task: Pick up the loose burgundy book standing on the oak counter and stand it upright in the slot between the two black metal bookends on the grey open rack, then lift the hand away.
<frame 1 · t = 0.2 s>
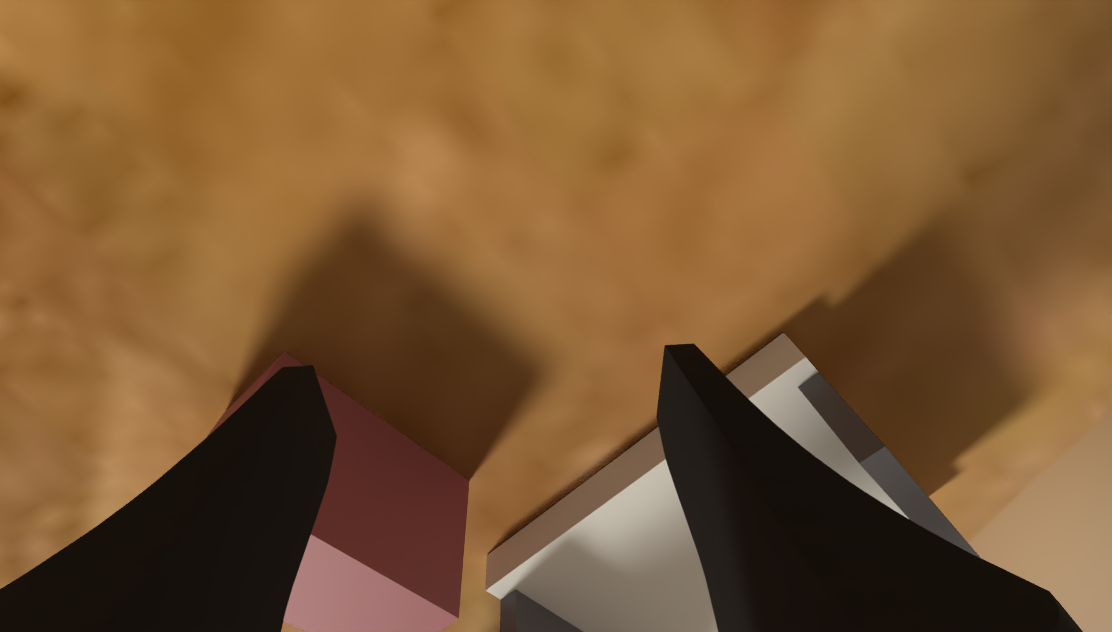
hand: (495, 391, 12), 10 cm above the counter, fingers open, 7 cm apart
burgundy book: (354, 446, 25), on the counter
grey open rack: (709, 527, 29), on the counter
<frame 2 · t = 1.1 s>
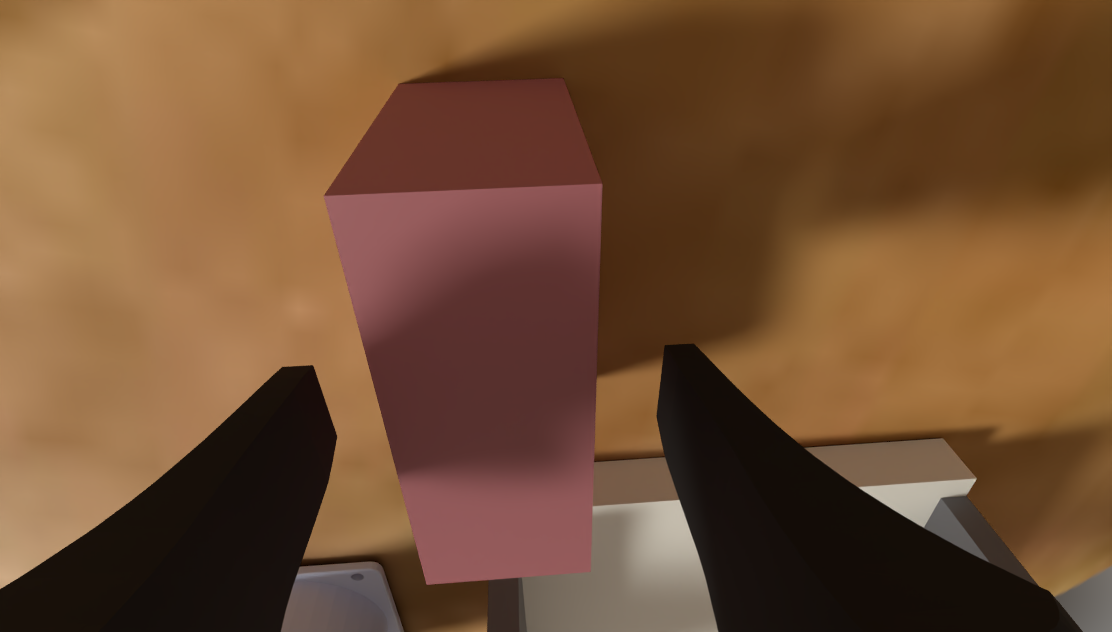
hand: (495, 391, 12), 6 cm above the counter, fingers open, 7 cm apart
burgundy book: (497, 259, 17), on the counter
grey open rack: (698, 557, 26), on the counter
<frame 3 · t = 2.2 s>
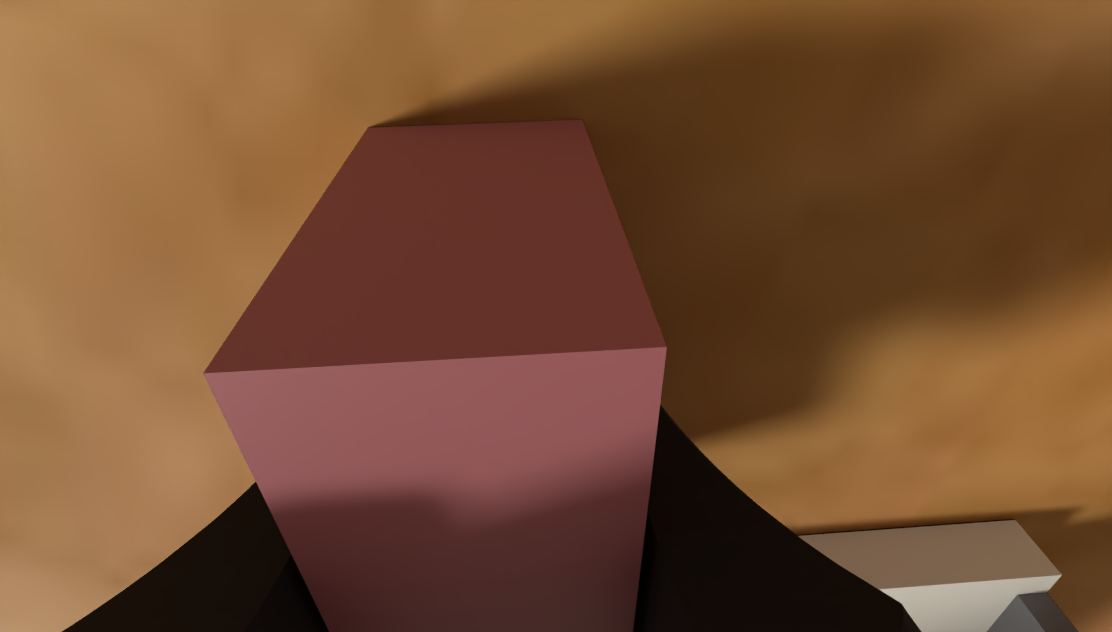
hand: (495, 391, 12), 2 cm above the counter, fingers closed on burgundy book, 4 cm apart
burgundy book: (496, 336, 14), on the counter, touching gripper
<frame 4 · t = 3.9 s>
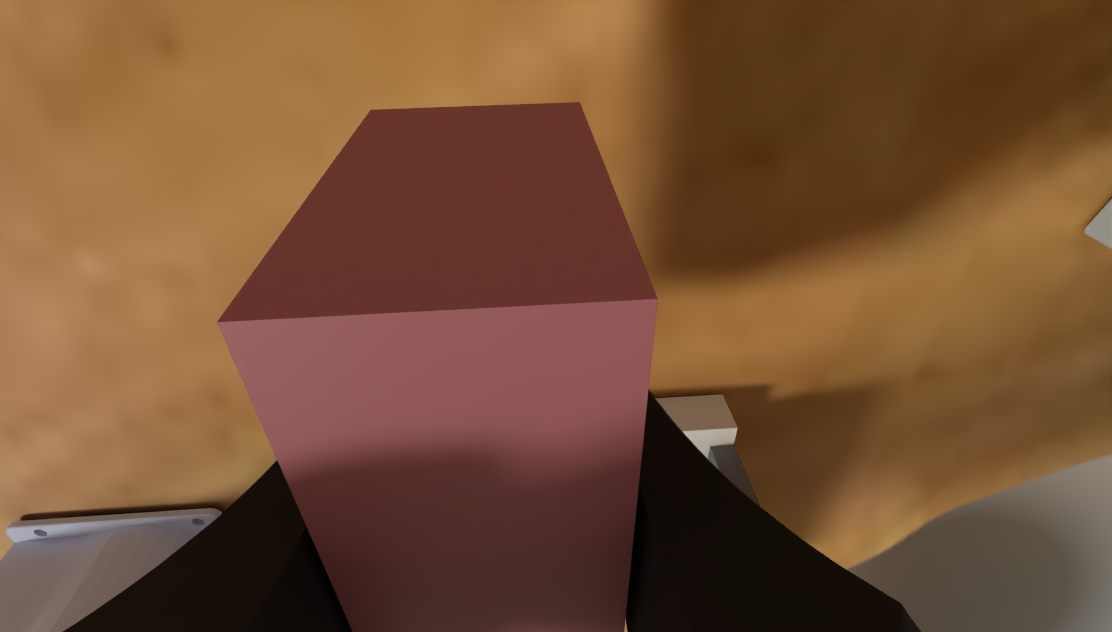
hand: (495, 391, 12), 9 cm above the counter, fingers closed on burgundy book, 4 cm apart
burgundy book: (496, 318, 14), point 7 cm above the counter, touching gripper
grey open rack: (523, 509, 28), on the counter
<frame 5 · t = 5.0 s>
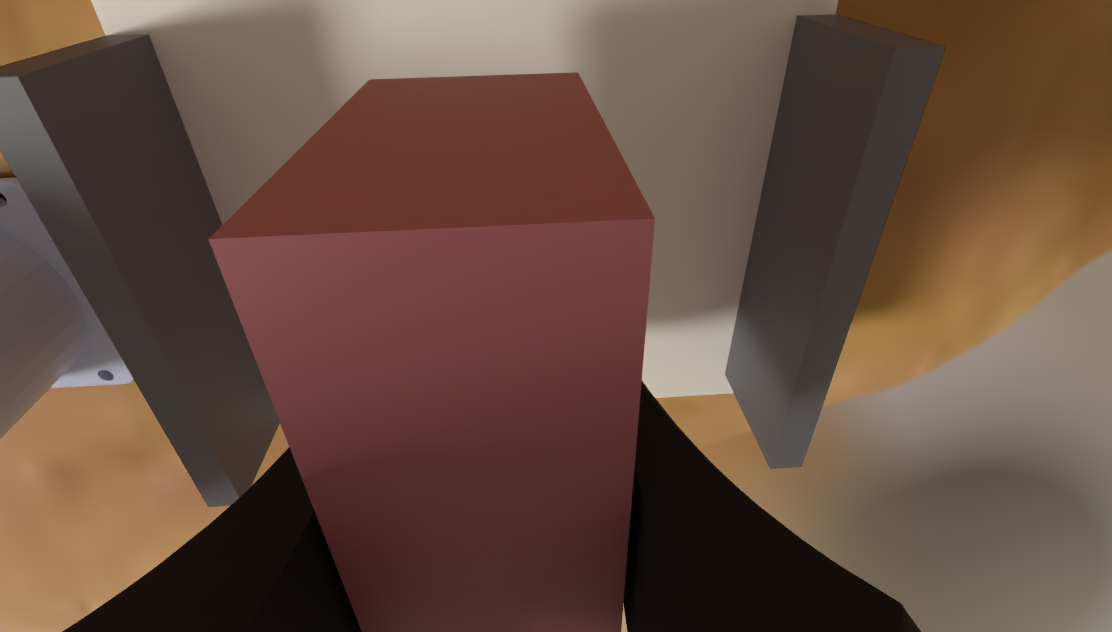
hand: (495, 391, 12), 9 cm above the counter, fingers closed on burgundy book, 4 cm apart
burgundy book: (494, 297, 14), point 6 cm above the counter, touching gripper
grey open rack: (500, 213, 19), on the counter
when the fingers open (5 cm above the counter, at t = 6.0 s): burgundy book stays where it is, resting on grey open rack.
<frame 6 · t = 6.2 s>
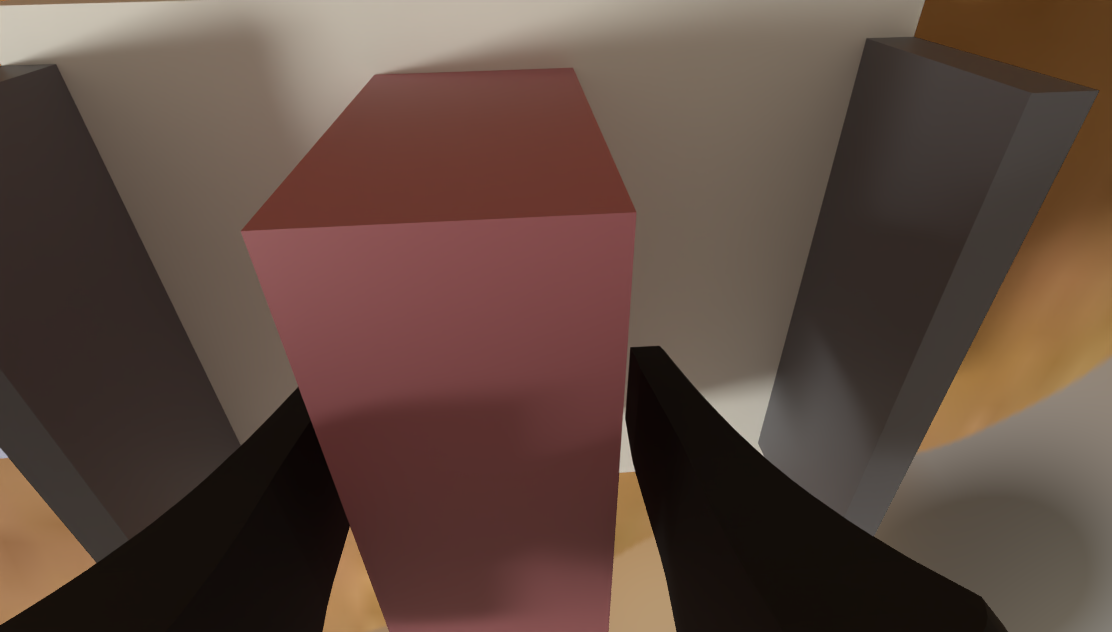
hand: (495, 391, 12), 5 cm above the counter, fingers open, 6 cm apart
burgundy book: (494, 282, 14), point 2 cm above the counter, touching grey open rack
grey open rack: (498, 264, 16), on the counter
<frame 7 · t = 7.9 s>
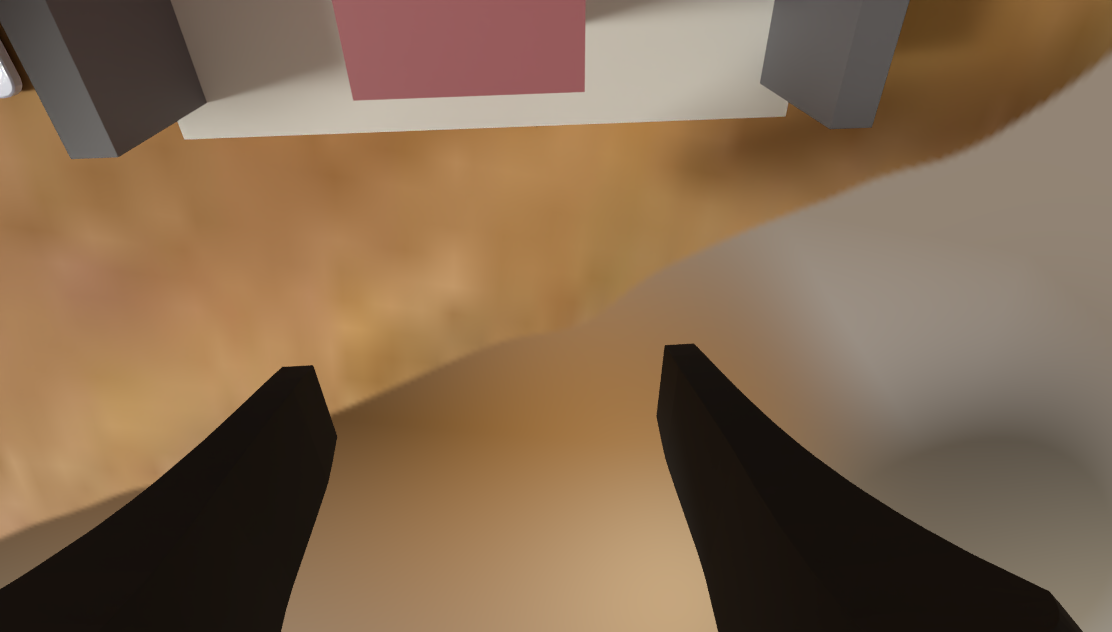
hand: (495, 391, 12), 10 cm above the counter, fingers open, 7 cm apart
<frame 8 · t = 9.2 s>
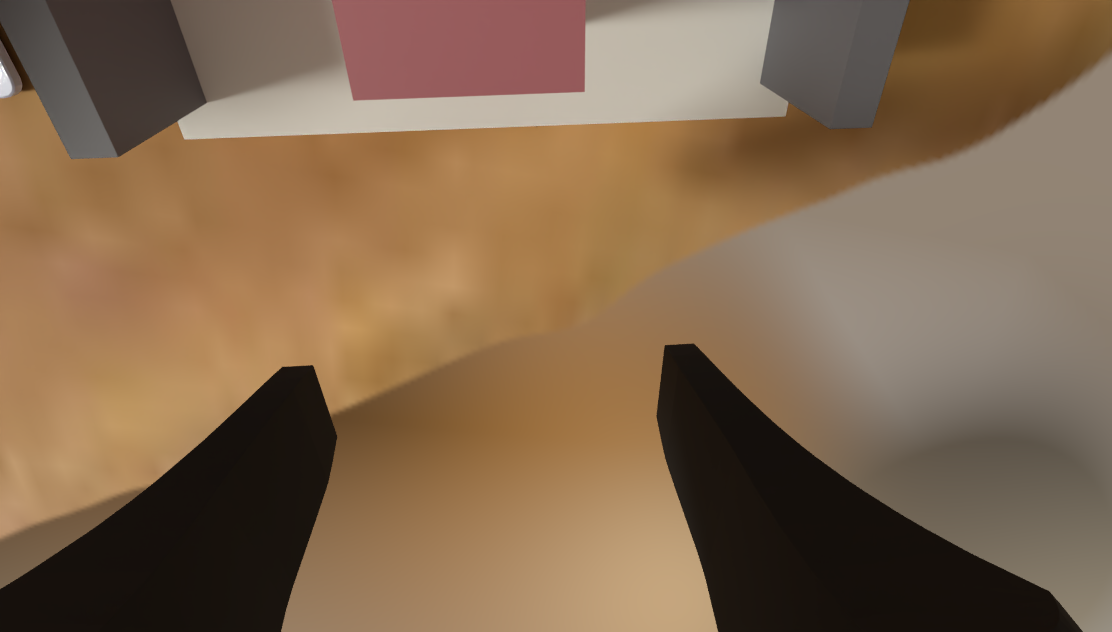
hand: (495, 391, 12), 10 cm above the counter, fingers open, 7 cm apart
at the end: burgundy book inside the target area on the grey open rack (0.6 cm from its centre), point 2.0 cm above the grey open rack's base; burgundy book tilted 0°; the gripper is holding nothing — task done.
